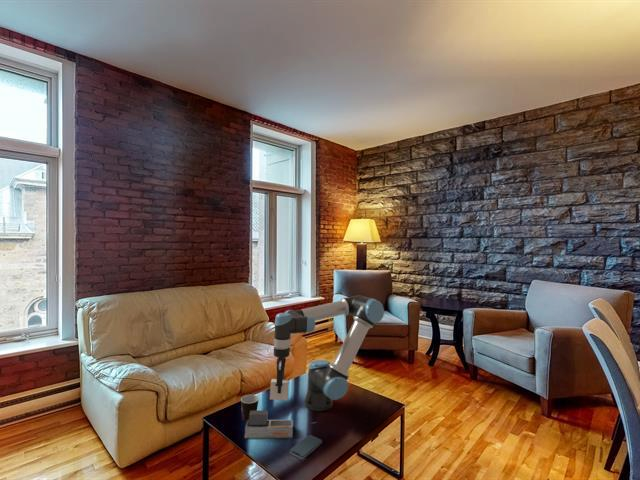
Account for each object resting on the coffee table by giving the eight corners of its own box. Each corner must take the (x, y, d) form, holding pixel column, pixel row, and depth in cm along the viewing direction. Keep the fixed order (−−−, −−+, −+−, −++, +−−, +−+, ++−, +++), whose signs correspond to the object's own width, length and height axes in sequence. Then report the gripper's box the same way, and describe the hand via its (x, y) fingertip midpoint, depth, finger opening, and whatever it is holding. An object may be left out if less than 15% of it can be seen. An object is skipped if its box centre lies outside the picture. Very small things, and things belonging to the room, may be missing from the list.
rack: (292, 426, 154) (293, 407, 154) (292, 438, 145) (293, 417, 145) (247, 426, 152) (248, 407, 152) (244, 438, 143) (245, 418, 143)
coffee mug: (253, 425, 153) (254, 404, 153) (237, 422, 155) (237, 402, 155) (263, 412, 165) (263, 393, 165) (247, 410, 167) (247, 391, 167)
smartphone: (323, 440, 143) (303, 457, 130) (323, 444, 143) (302, 461, 130) (309, 433, 147) (288, 449, 134) (309, 437, 147) (288, 454, 134)
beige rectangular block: (287, 396, 153) (288, 379, 153) (287, 400, 149) (288, 382, 149) (270, 395, 153) (271, 378, 153) (269, 399, 149) (270, 382, 149)
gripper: (276, 341, 159) (273, 389, 159) (271, 352, 143) (268, 405, 143) (291, 341, 160) (289, 389, 159) (288, 353, 143) (286, 406, 143)
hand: (279, 397), depth 151 cm, fingers closed on beige rectangular block, 3 cm apart
